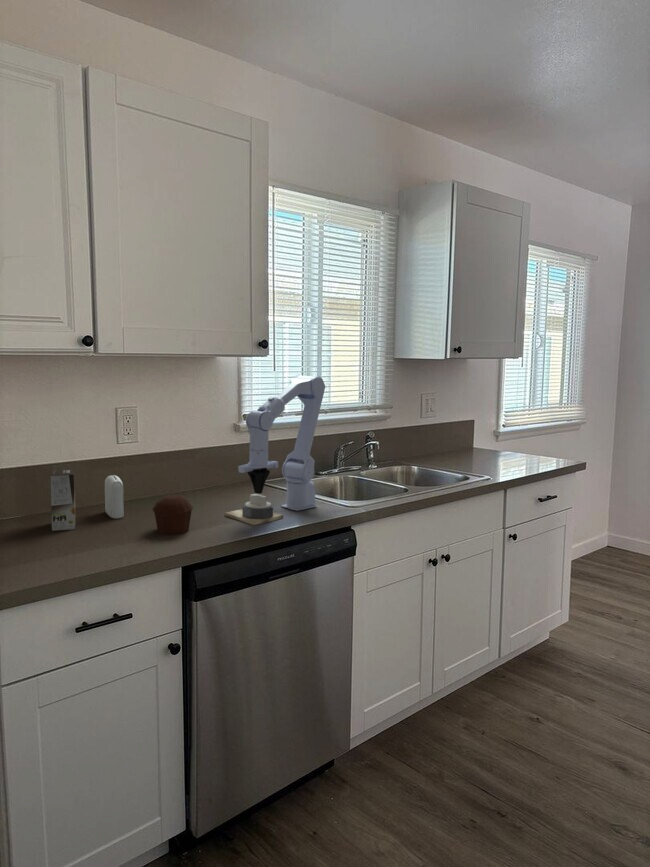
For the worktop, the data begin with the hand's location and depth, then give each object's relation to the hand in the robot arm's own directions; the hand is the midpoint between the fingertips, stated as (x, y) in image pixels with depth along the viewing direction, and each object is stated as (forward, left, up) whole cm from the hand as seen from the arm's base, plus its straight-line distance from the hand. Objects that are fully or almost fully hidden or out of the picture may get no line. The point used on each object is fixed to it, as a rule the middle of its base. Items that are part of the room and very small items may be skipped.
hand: (258, 493), depth 204 cm
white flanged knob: (0, 0, -6) cm, 6 cm away
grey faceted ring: (0, 0, -8) cm, 8 cm away
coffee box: (+48, -30, -8) cm, 57 cm away
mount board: (0, -2, -8) cm, 8 cm away
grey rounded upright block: (+31, -32, -8) cm, 45 cm away
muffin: (+27, -6, -8) cm, 29 cm away
